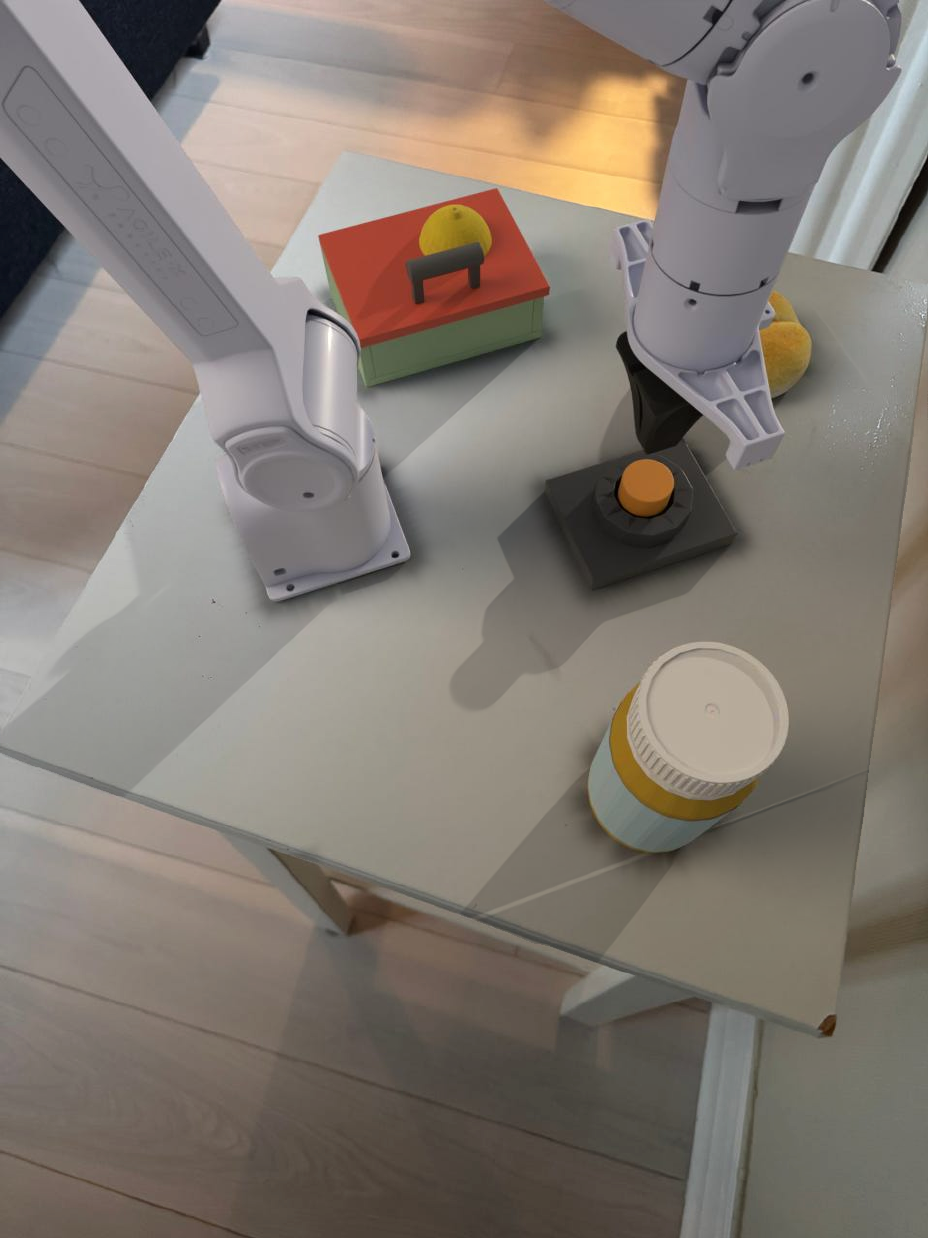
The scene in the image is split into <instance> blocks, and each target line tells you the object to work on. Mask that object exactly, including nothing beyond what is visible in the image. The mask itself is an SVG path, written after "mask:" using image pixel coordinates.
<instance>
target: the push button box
mask: <svg viewBox="0 0 928 1238" xmlns="http://www.w3.org/2000/svg"><path fill="white" fill-rule="evenodd" d="M644 459H649V460H654V461H657V462H660V463H662V464H663V465H665V466H666V467H667V468H668V469H669V470H670V472H671V473H672V475H673V479H674V488H673V490H672V493H671V496H670V499H669V501H668V504H667V506H666V507H665V509H664V510H663V511H661V512H660V513H658V514H656V515H654V516H649V517H641V516H637V515H634V514H632V513H630V512H628V511H627V510H626V509H625V508H624V507H623V506H622V504H621V503H620V500H619V497H618V491H619V486H620V483H621V479H622V475H623V472H624V471H625V469H626V468H627V467H628V466H629V465H630V464H632V463H633V462H635V461H638V460H644ZM544 494H545V496H546V498H547V500H548V502H549V505H550V507H551V509H552V511H553V513H554V516H555V518H556V520H557V522H558V524H559V526H560V528H561V531H562V533H563V535H564V537H565V540H566V541H567V543H568V546H569V547H570V549H571V552H572V554H573V556H574V558H575V560H576V562H577V565H578V567H579V569H580V571H581V573H582V575H583V577H584V580H585V582H586V584H587V586H588V589H589V590H590V591H594V590H596V589H600V588H603V587H606V586H608V585H612V584H615V583H618V582H621V581H624V580H628V579H630V578H633V577H636V576H639V575H642V574H645V573H648V572H652V571H654V570H657V569H660V568H663V567H667V566H669V565H672V564H676V563H678V562H683V561H685V560H687V559H690V558H693V557H697V556H700V555H703V554H706V553H709V552H712V551H714V550H717V549H722V548H724V547H727V546H730V545H732V544H733V543H734V541H735V539H736V537H737V535H738V532H737V530H736V528H735V526H734V525H733V523H732V521H731V520H730V518H729V516H728V514H727V512H726V511H725V509H724V508H723V506H722V504H721V502H720V499H719V498H718V496H717V495H716V492H715V491H714V490H713V488H712V486H711V484H710V482H709V481H708V478H707V477H706V475H705V474H704V472H703V470H702V469H701V467H700V465H699V463H698V462H697V459H696V458H695V456H694V454H693V453H692V451H691V449H690V447H689V446H688V444H687V442H686V440H685V438H684V437H683V438H682V439H681V441H680V442H679V443H678V444H677V446H674V447H671V448H668V449H665V450H662V451H658V452H655V453H652V454H649V455H648V454H645V452H644V450H643V449H642V450H639V451H636V452H632V453H629V454H626V455H622V456H620V457H615V458H614V459H609V460H607V461H604V462H601V463H598V464H594V465H590V466H587V467H584V468H581V469H578V470H575V471H572V472H568V473H566V474H562V475H559V476H556V477H552V478H549V479H546V480H545V484H544Z"/></svg>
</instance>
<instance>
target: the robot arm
mask: <svg viewBox="0 0 928 1238" xmlns="http://www.w3.org/2000/svg"><path fill="white" fill-rule="evenodd" d="M540 1H541V2H544V3H545V4H546V5H548V6H550V7H552V8H554V9H556V10H558V11H559V12H561V13H563V14H565V15H566V16H568V17H570V18H571V19H574V21H577V22H578V23H580V24H582V25H584V26H586V27H588V28H590V29H591V30H592V31H594V32H596V33H598V34H600V35H602V36H603V37H605V38H607V39H609V40H610V41H612V42H614V43H615V44H617V45H619V46H621V47H622V48H624V49H626V50H628V51H630V52H632V53H633V54H635V55H636V56H638V57H640V58H642V59H644V60H645V61H647V62H649V63H650V64H653V65H654V66H655V67H658V68H660V69H661V70H663V71H664V72H666V73H668V74H669V75H670V74H671V75H674V76H675V77H679V78H682V79H686V80H687V81H686V83H685V89H684V94H683V98H682V103H681V108H680V112H679V117H678V121H677V124H676V127H675V129H674V132H673V135H672V139H671V142H670V143H671V144H670V149H669V152H668V156H667V162H666V166H665V171H664V175H663V180H662V183H661V189H660V194H659V197H658V202H657V207H656V211H655V216H654V221H653V223H652V221H651V220H650V219H649V218H645V219H641V220H637V221H634V222H629V223H627V224H623V225H619V226H615V227H613V229H612V235H611V241H610V247H609V253H608V260H609V262H610V264H611V265H612V266H613V268H614V269H615V270H618V271H620V272H621V281H622V282H621V283H622V292H623V304H624V305H623V306H624V314H625V326H626V330H625V331H623V332H622V333H620V334H619V336H618V337H617V339H616V342H615V349H616V350H617V352H618V355H619V356H620V358H621V361H622V363H623V366H624V368H625V371H626V375H627V379H628V383H629V387H630V392H631V397H632V398H631V399H632V409H633V421H634V431H635V436H636V440H637V441H638V443H639V444H640V446H641V449H642V450H644V452H645V454H648V455H649V454H652V453H655V452H658V451H662V450H665V449H668V448H671V447H674V446H677V444H678V443H679V442H680V441H681V439H682V438H683V439H684V437H685V436H686V435H687V433H688V432H689V431H690V430H691V428H693V426H694V425H696V423H697V422H698V421H699V420H700V419H701V418H702V417H705V418H707V420H709V422H711V423H712V424H714V425H715V426H716V427H717V428H718V429H719V430H720V431H722V433H724V434H725V436H726V437H727V438H728V439H729V445H728V448H727V450H726V453H725V457H726V460H727V461H728V463H729V465H730V466H731V468H732V469H733V470H734V471H738V470H740V469H744V468H747V467H751V466H754V465H757V464H760V463H763V462H765V461H768V460H771V459H773V458H774V456H775V454H776V452H777V450H778V448H779V447H780V444H781V443H782V441H783V439H784V437H785V435H786V432H785V429H783V426H782V424H781V422H780V420H779V419H778V417H777V415H776V412H775V409H774V404H773V401H772V399H771V395H770V390H769V384H768V378H767V373H766V367H765V362H764V356H763V350H762V345H761V339H760V334H759V331H760V330H762V329H766V328H768V327H769V326H770V325H771V323H772V320H773V318H774V316H775V311H774V309H773V308H772V306H771V305H770V303H769V302H768V300H769V298H770V295H771V293H772V290H773V291H774V288H775V285H776V282H777V280H778V279H779V275H780V273H781V270H782V268H783V265H784V263H785V261H786V258H787V256H788V253H789V251H790V248H791V245H792V243H793V242H794V239H795V236H796V233H797V231H798V229H799V227H800V224H801V222H802V219H803V216H804V215H805V212H806V209H807V206H808V204H809V202H810V200H811V197H812V194H813V192H814V190H815V187H816V185H817V183H818V182H819V180H820V178H821V175H822V173H823V171H824V169H825V166H826V164H827V161H828V159H829V157H830V156H831V154H832V152H833V151H834V150H835V148H836V147H837V146H838V145H839V144H840V143H841V142H842V141H843V140H844V139H845V138H847V137H848V136H849V135H850V134H852V133H853V132H854V131H855V130H857V129H858V128H859V127H860V126H862V125H863V124H864V123H865V122H866V121H867V120H868V119H869V118H870V117H871V116H872V115H873V114H874V113H875V111H877V109H878V108H879V107H881V105H882V103H883V102H884V101H885V100H886V98H887V97H888V96H889V94H890V93H891V91H892V90H893V88H894V86H895V85H896V83H897V81H898V79H899V77H900V75H901V73H902V67H901V66H900V65H896V63H897V60H896V57H895V53H896V50H897V46H898V44H899V40H900V36H901V27H902V13H901V10H900V8H899V5H898V4H899V3H900V0H540ZM170 129H171V128H169V127H168V125H167V124H166V122H165V120H164V119H163V118H162V117H161V115H160V114H159V112H158V111H157V110H156V108H155V106H154V105H153V104H152V102H151V101H150V100H149V98H148V97H147V95H146V94H145V92H144V90H143V89H142V88H141V87H140V85H139V84H138V82H137V81H136V80H135V78H134V77H133V75H132V73H130V71H129V69H128V68H127V67H126V65H125V64H124V62H123V61H122V60H121V58H120V57H119V55H118V53H116V51H115V50H114V48H113V47H112V46H111V44H110V43H109V41H108V39H107V38H106V37H105V35H104V34H103V33H102V31H101V29H100V28H99V27H98V25H97V24H96V22H95V21H94V20H93V18H92V16H91V15H90V14H89V13H88V10H86V9H85V7H84V5H83V4H82V3H81V1H80V0H0V159H1V160H2V161H3V162H4V163H5V165H7V167H8V168H9V169H10V170H11V171H12V172H13V173H14V174H15V175H16V176H17V177H18V178H19V179H20V180H21V182H23V183H24V185H25V186H26V187H27V188H28V189H29V190H30V192H32V193H33V194H34V196H36V198H37V199H38V200H39V201H40V202H41V203H42V204H43V205H44V206H45V207H46V209H47V210H48V211H49V212H50V213H51V214H52V215H53V216H54V217H55V218H56V219H57V220H58V221H59V222H60V224H61V225H63V227H64V228H65V229H66V230H67V231H68V232H69V234H71V235H72V237H73V238H75V240H76V241H77V242H78V243H79V244H80V245H81V246H82V247H83V248H84V249H85V250H86V251H87V252H88V254H89V255H90V256H91V257H92V258H93V259H94V260H95V261H96V262H97V264H99V265H100V266H101V268H103V269H104V271H105V272H106V273H107V274H108V275H109V276H110V277H111V278H112V280H114V282H115V283H116V284H117V285H118V286H119V287H120V288H121V289H122V290H123V292H125V293H126V295H127V296H128V297H130V299H131V300H132V301H133V302H134V303H135V305H137V306H138V307H139V308H140V310H141V311H143V313H144V314H145V315H146V316H147V317H148V319H150V320H151V321H152V322H153V323H154V325H155V326H156V327H157V328H158V329H159V330H160V331H161V332H162V333H163V334H164V335H165V336H166V338H168V339H169V341H170V342H171V343H172V344H173V345H174V346H175V347H176V348H177V349H178V350H179V351H180V352H181V353H182V355H183V356H184V357H185V358H186V359H187V360H188V361H189V362H190V364H191V365H192V368H193V371H194V374H195V378H196V381H197V386H198V389H199V393H200V394H199V395H200V398H201V402H202V405H203V409H204V415H205V417H206V421H207V426H208V429H209V432H210V437H211V438H212V440H213V442H214V443H215V445H217V446H218V447H219V448H220V449H221V450H222V451H223V453H225V454H222V455H220V456H219V457H216V458H215V461H214V463H215V468H216V473H217V477H218V481H219V484H220V487H221V491H222V494H223V497H224V500H225V505H226V506H227V510H228V513H229V515H230V517H231V520H232V523H233V525H234V528H235V530H236V533H237V535H238V537H239V539H240V541H241V544H242V545H243V547H244V549H245V552H246V553H247V555H248V557H249V559H250V560H251V562H252V564H253V566H254V568H255V570H256V572H257V574H258V575H259V577H260V579H261V581H262V583H263V585H264V588H265V590H266V594H267V596H268V598H269V600H270V601H272V602H274V603H276V602H277V603H279V602H282V601H284V600H287V599H291V598H294V597H297V596H300V595H303V594H306V593H309V592H313V591H317V590H319V589H322V588H325V587H328V586H331V585H335V584H338V583H342V582H344V581H348V580H351V579H354V578H357V577H360V576H363V575H367V574H369V573H372V572H376V571H379V570H382V569H386V568H388V567H391V566H394V565H398V564H401V563H404V562H406V561H408V560H409V559H410V558H411V549H410V547H409V544H408V541H407V539H406V536H405V534H404V531H403V528H402V525H401V522H400V520H399V517H398V514H397V512H396V509H395V506H394V504H393V501H392V498H391V495H390V493H389V490H388V488H387V485H386V482H385V480H384V478H383V474H382V468H381V464H380V463H381V462H380V458H379V453H378V447H377V442H376V438H375V431H374V428H373V425H372V423H371V420H370V419H369V416H368V415H367V414H366V412H365V410H364V409H363V408H362V406H361V405H360V403H359V402H358V400H357V399H358V398H357V397H358V396H357V395H358V362H359V358H360V341H359V338H358V336H357V333H356V331H355V330H354V328H353V327H352V325H351V324H350V323H349V322H348V321H347V320H346V319H345V318H343V317H342V316H341V315H340V314H338V312H337V311H335V310H333V309H331V308H329V307H328V306H327V305H325V304H323V302H321V301H320V300H319V299H317V298H316V297H315V296H314V294H313V293H312V291H310V289H309V287H308V286H307V285H306V283H305V281H304V280H303V279H302V278H301V277H299V276H279V277H273V275H272V273H271V272H270V271H269V269H268V268H267V267H266V265H265V264H264V262H263V260H262V259H261V258H260V256H259V255H258V253H257V252H256V250H255V249H254V248H253V246H252V245H251V244H250V242H249V241H248V239H247V238H246V236H245V235H244V233H243V232H242V231H241V229H240V228H239V226H238V225H237V224H236V222H235V221H234V220H233V218H232V217H231V215H230V213H229V211H227V209H226V208H225V206H224V205H223V204H222V202H221V201H220V199H219V198H218V196H217V195H216V193H215V192H214V191H213V189H212V188H211V186H210V185H209V184H208V182H207V181H206V179H205V177H204V176H203V175H202V174H201V172H200V171H199V169H198V168H197V167H196V165H195V163H194V162H193V161H192V159H191V158H190V156H189V155H188V153H187V152H186V151H185V149H184V148H183V146H182V145H181V143H180V142H179V141H178V139H177V138H176V136H175V135H174V134H173V132H172V131H171V130H170ZM394 555H398V556H397V557H393V556H394ZM291 588H293V590H289V589H291Z"/></svg>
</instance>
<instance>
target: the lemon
mask: <svg viewBox="0 0 928 1238" xmlns="http://www.w3.org/2000/svg"><path fill="white" fill-rule="evenodd" d="M474 242H480V244H481V246H482V249H483V253H484V256H485V255H486V254H487V252H488V251H489V249H490V247H491V242H492V237H491V234H490V230H489V228H488V226H487V224H486V222H485V221H484V219H483V218H482V217H481V216H480V215H479V214H478V213H477V212H476V211H474V210H473V209H471V208H469V207H466V206H463V205H448V206H445V207H442V208H440V209H438V210H437V211H435V212H434V213H433V214H432V215H431V216H430V217H429V218H428V220H427V221H426V222H425V224H424V226H423V228H422V231H421V234H420V238H419V246H420V248H421V251H422V253H423V254H424V255H425V256H426V255H430V254H434V253H437V252H441V251H445V250H448V249H452V248H456V247H459V246H463V245H467V244H470V243H474Z"/></svg>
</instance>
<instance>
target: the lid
mask: <svg viewBox="0 0 928 1238" xmlns="http://www.w3.org/2000/svg"><path fill="white" fill-rule="evenodd" d="M448 205H463V206H466V207H469V208H471V209H473V210H474V211H476V212H477V213H478V214H479V215H480V216H481V217H482V218H483V219H484V221H485V222H486V224H487V226H488V228H489V230H490V234H491V237H492V242H491V247H490V249H489V251H488V252H487V254H486V255H485V256H484V253H483V249H482V246H481V244H480V242H474V243H470V244H467V245H463V246H459V247H456V248H452V249H448V250H445V251H441V252H437V253H434V254H430V255H426V256H425V255H424V254H423V253H422V251H421V248H420V246H419V238H420V234H421V231H422V228H423V226H424V224H425V222H426V221H427V220H428V218H429V217H430V216H431V215H432V214H433V213H434V212H435V211H437V210H438V209H440V208H442V207H445V206H448ZM317 238H318V241H319V246H320V245H321V247H320V249H321V248H322V250H323V253H324V256H325V258H326V261H327V263H328V266H329V269H330V271H331V274H332V276H333V279H334V281H335V284H336V287H337V289H338V292H339V294H340V297H341V299H342V302H343V305H344V307H345V310H346V312H347V315H348V317H349V320H350V323H351V325H352V327H353V328H354V330H355V331H356V333H357V336H358V338H359V341H360V348H364V347H368V346H371V345H375V344H378V343H382V342H385V341H389V340H392V339H396V338H399V337H403V336H406V335H410V334H414V333H417V332H421V331H424V330H428V329H431V328H435V327H438V326H442V325H445V324H449V323H452V322H456V321H460V320H463V319H467V318H470V317H474V316H477V315H481V314H484V313H488V312H491V311H495V310H498V309H502V308H506V307H509V306H513V305H516V304H520V303H523V302H527V301H530V300H534V299H537V298H541V297H544V298H545V297H548V296H550V291H551V286H550V284H549V281H548V280H547V277H546V276H545V274H544V271H543V270H542V269H541V267H540V265H539V263H538V261H537V259H536V257H535V256H534V254H533V251H532V250H531V248H530V247H529V244H528V243H527V240H526V238H525V236H524V234H523V233H522V231H521V229H520V228H519V226H518V224H517V222H516V219H515V218H514V215H513V214H512V213H511V211H510V209H509V206H508V205H507V204H506V201H505V199H504V198H503V196H502V193H501V192H500V190H499V188H498V187H495V188H492V189H488V190H484V191H480V192H477V193H472V194H469V195H465V196H461V197H457V198H453V199H450V200H446V201H442V202H439V203H435V204H431V205H427V206H423V207H419V208H416V209H411V210H408V211H404V212H400V213H397V214H393V215H389V216H385V217H381V218H377V219H374V220H370V221H366V222H362V223H358V224H355V225H351V226H348V227H343V228H339V229H335V230H332V231H328V232H325V233H321V234H318V237H317Z"/></svg>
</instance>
